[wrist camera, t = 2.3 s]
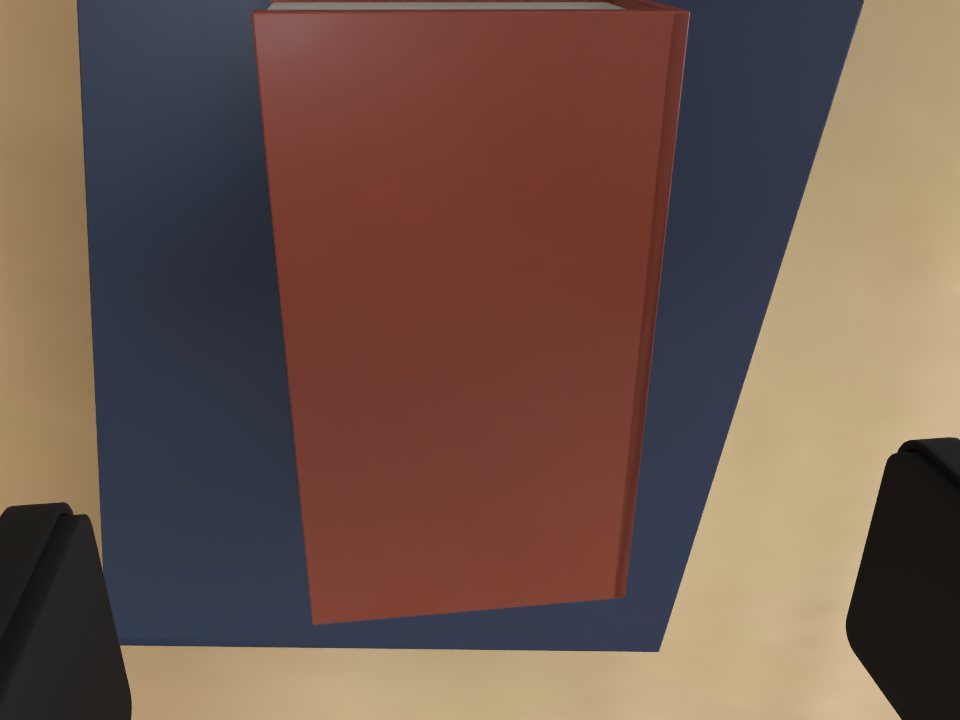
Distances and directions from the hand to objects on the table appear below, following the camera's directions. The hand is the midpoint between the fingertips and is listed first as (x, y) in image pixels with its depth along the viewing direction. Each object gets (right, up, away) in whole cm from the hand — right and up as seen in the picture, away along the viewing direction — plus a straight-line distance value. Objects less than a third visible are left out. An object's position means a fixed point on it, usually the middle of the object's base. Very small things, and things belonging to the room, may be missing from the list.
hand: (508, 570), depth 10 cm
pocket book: (-1, +4, +8) cm, 9 cm away
